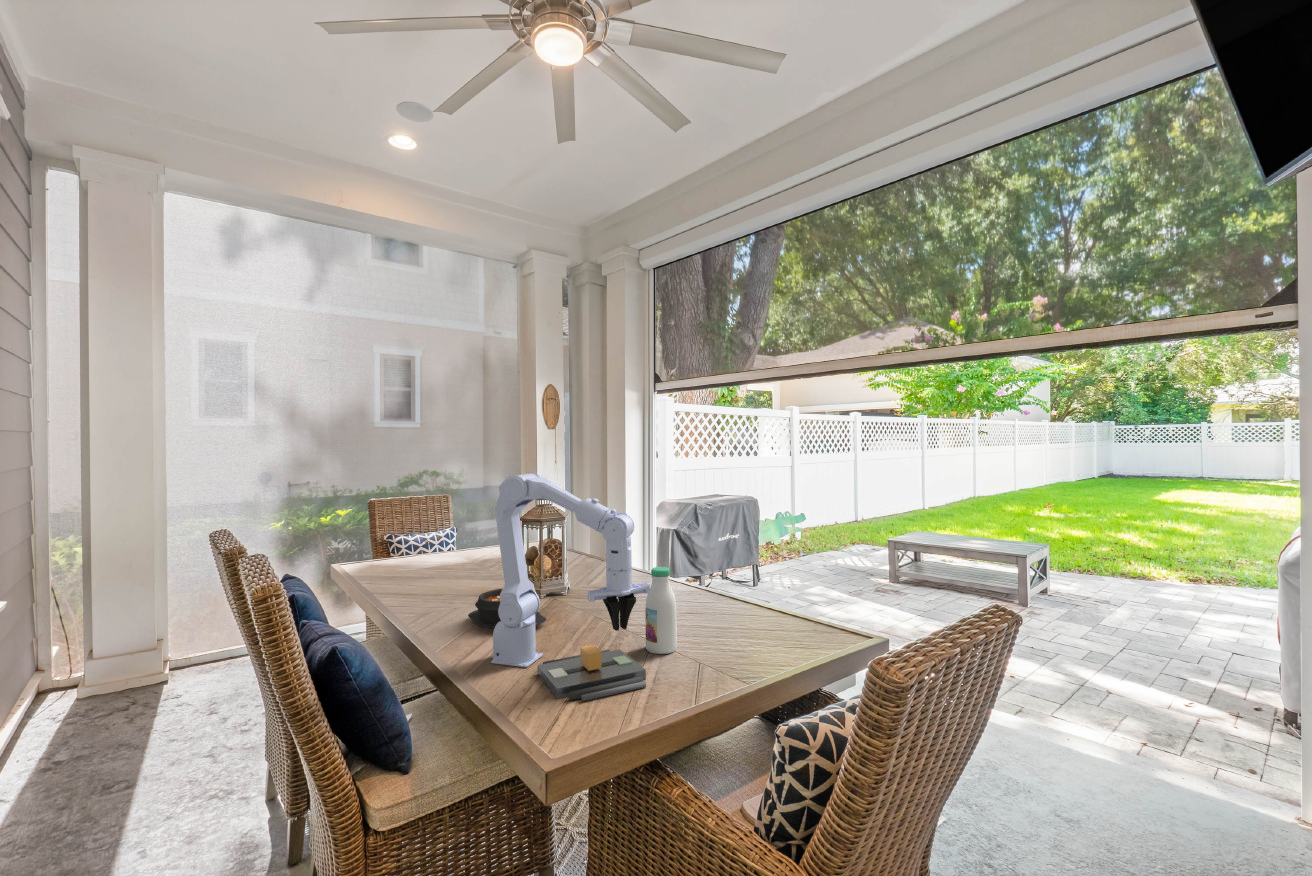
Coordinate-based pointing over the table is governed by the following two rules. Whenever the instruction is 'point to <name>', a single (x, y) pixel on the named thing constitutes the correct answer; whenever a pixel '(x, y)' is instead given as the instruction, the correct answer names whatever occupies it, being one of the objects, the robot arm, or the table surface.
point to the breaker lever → (590, 657)
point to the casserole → (492, 610)
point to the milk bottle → (661, 614)
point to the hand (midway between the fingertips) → (619, 628)
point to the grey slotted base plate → (604, 686)
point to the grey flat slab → (588, 673)
